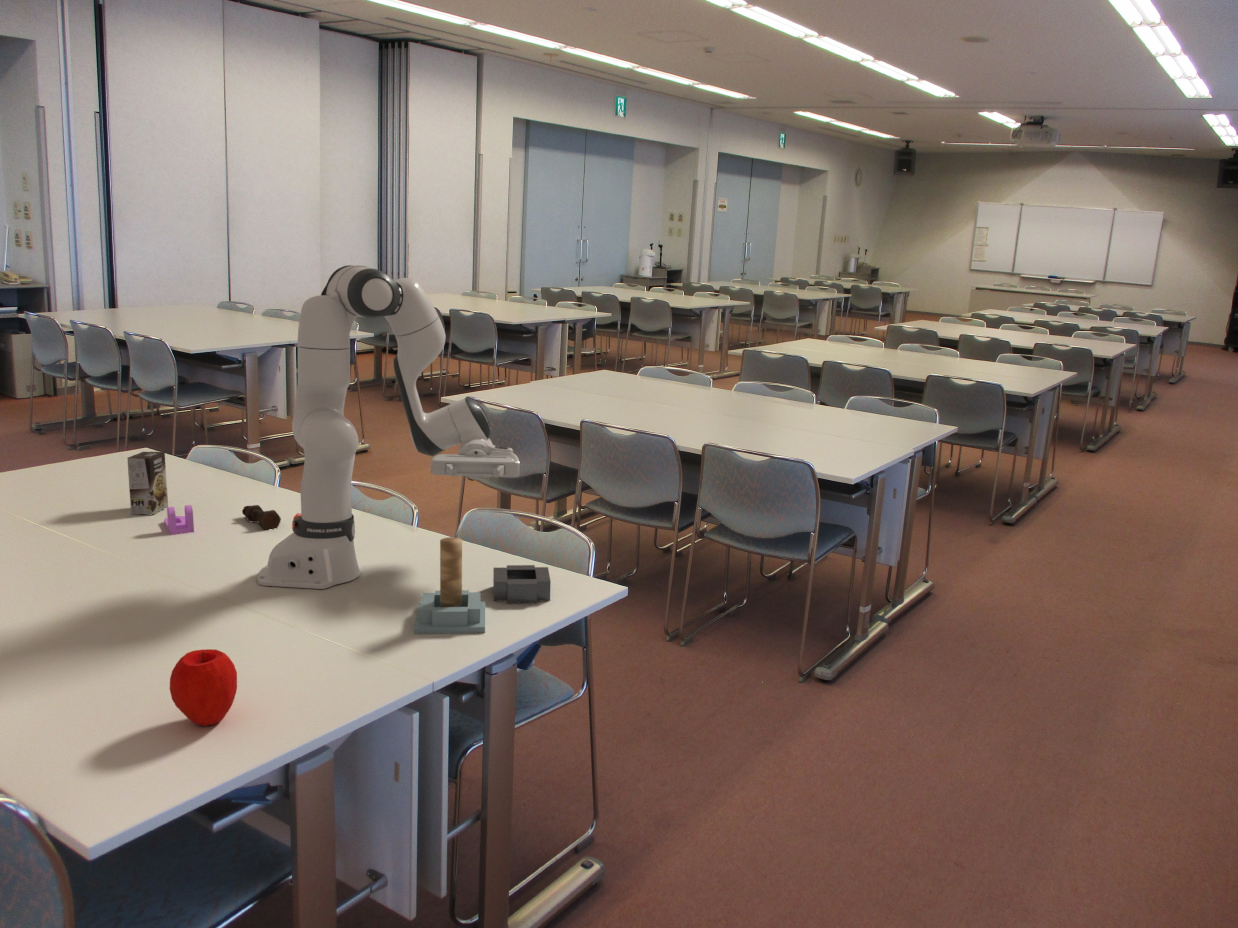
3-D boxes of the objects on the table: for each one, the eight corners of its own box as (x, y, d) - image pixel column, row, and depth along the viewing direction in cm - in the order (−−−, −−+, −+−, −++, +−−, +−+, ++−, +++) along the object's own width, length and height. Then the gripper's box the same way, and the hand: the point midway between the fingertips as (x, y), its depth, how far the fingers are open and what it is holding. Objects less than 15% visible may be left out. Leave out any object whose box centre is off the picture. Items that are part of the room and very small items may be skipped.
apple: (157, 728, 148) (152, 656, 145) (205, 702, 157) (201, 633, 154) (207, 742, 145) (202, 668, 142) (253, 714, 154) (249, 644, 151)
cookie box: (153, 515, 259) (149, 458, 256) (130, 514, 259) (125, 457, 256) (169, 506, 268) (165, 451, 265) (147, 505, 268) (142, 450, 265)
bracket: (194, 532, 247) (192, 506, 245) (170, 535, 244) (169, 509, 242) (185, 519, 257) (183, 495, 256) (163, 522, 254) (161, 497, 253)
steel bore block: (493, 603, 205) (493, 584, 204) (493, 583, 217) (493, 565, 216) (550, 602, 207) (551, 583, 206) (547, 583, 219) (547, 565, 218)
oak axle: (439, 618, 193) (439, 543, 189) (440, 610, 197) (440, 537, 194) (461, 618, 194) (461, 543, 190) (462, 610, 198) (462, 537, 194)
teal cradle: (413, 633, 188) (413, 613, 187) (419, 607, 201) (418, 589, 200) (484, 632, 190) (485, 612, 189) (485, 606, 203) (485, 588, 202)
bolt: (250, 523, 263) (274, 534, 252) (234, 517, 259) (257, 528, 248) (260, 504, 264) (283, 514, 253) (243, 497, 260) (267, 507, 249)
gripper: (431, 446, 222) (427, 458, 209) (518, 448, 225) (520, 460, 211) (431, 472, 223) (427, 486, 210) (518, 474, 226) (519, 488, 213)
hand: (474, 473), depth 211 cm, fingers open, 8 cm apart
